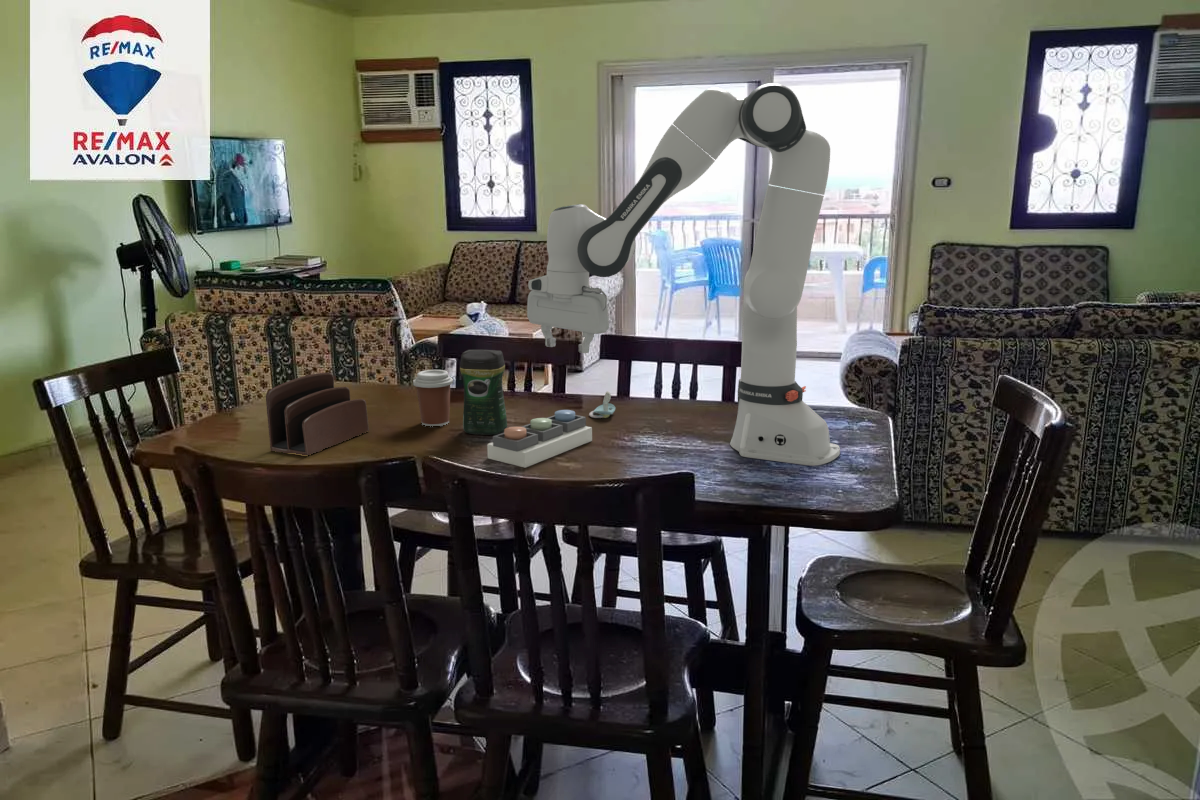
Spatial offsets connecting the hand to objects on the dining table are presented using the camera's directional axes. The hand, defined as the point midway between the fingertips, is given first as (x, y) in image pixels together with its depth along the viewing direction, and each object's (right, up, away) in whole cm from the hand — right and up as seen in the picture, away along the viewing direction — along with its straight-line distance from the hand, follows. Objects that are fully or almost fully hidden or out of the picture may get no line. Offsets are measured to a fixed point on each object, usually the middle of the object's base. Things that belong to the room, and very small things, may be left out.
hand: (566, 349), depth 178 cm
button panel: (-5, -21, -2) cm, 22 cm away
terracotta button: (-10, -18, -10) cm, 23 cm away
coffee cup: (-31, -16, +17) cm, 39 cm away
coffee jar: (-19, -18, +11) cm, 28 cm away
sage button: (-5, -17, -4) cm, 18 cm away
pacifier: (+7, -15, +23) cm, 29 cm away
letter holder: (-53, -20, +4) cm, 57 cm away
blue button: (0, -15, +3) cm, 15 cm away
